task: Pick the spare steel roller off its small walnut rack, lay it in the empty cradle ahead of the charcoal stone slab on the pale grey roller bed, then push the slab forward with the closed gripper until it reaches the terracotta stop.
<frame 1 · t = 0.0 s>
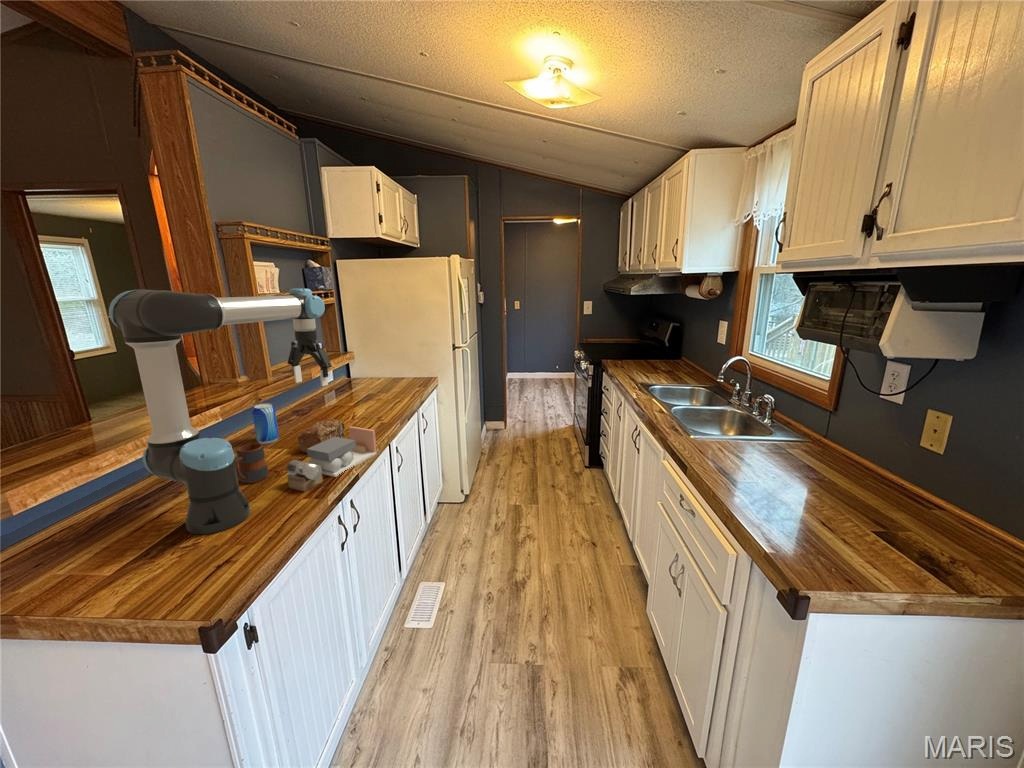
hand: (311, 383, 160), 28 cm above the table, fingers open, 13 cm apart
bread: (323, 445, 172), on the table
beer can: (268, 441, 176), on the table
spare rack: (306, 484, 138), on the table
roller bed: (344, 461, 156), on the table
mug: (251, 481, 141), on the table
slab: (331, 448, 149), point 8 cm above the table, slide at 0.0 cm
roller: (304, 469, 137), point 5 cm above the table, touching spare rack
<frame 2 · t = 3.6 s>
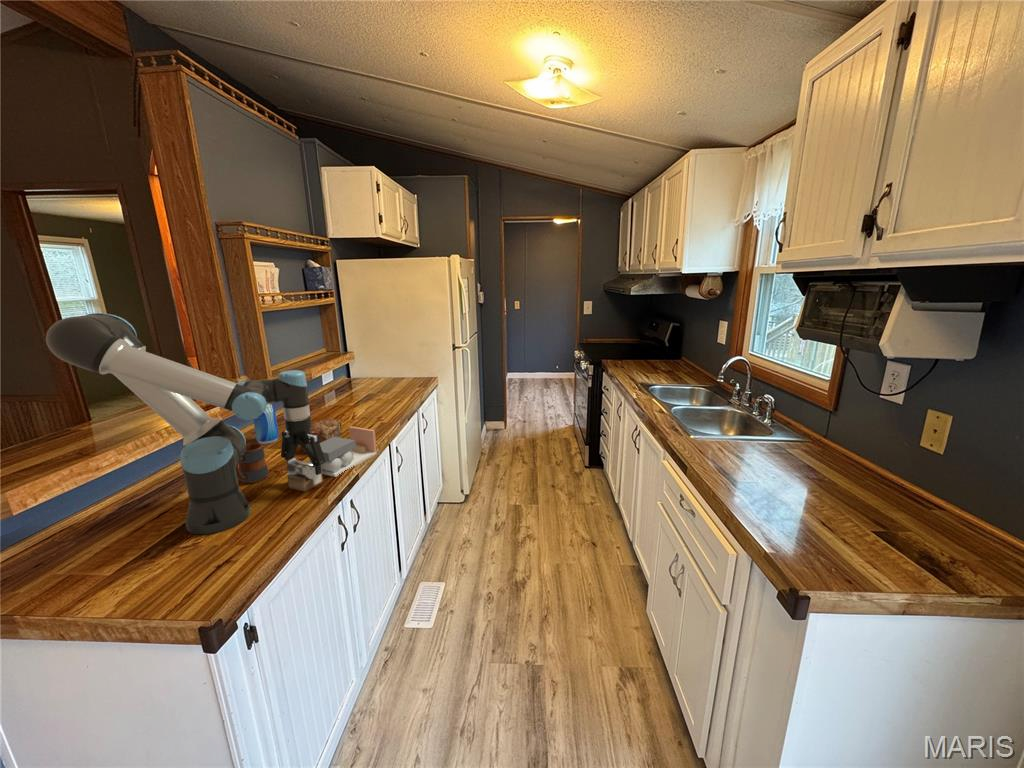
hand: (305, 479, 138), 2 cm above the table, fingers closed on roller, 10 cm apart
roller: (304, 469, 137), point 6 cm above the table, touching gripper, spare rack
when the fingers open (2 cm above the table, at t = 8.9 s): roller drops 2 cm, resting on roller bed.
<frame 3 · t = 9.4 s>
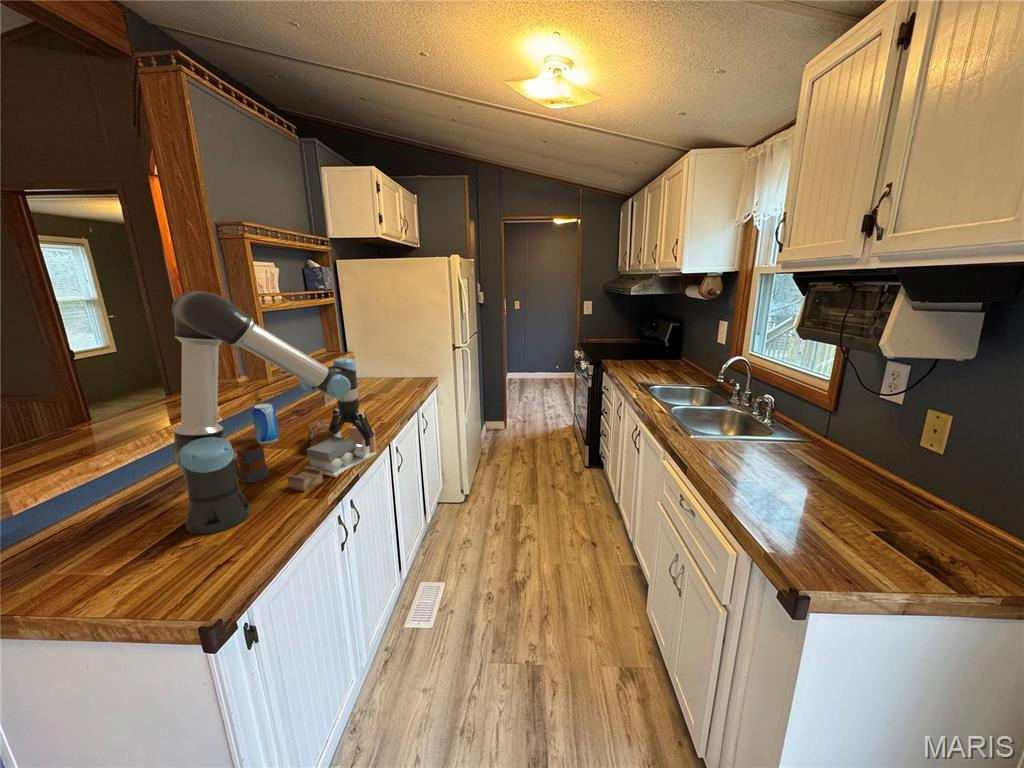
hand: (352, 451, 159), 3 cm above the table, fingers open, 13 cm apart
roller: (352, 449, 159), point 3 cm above the table, touching roller bed
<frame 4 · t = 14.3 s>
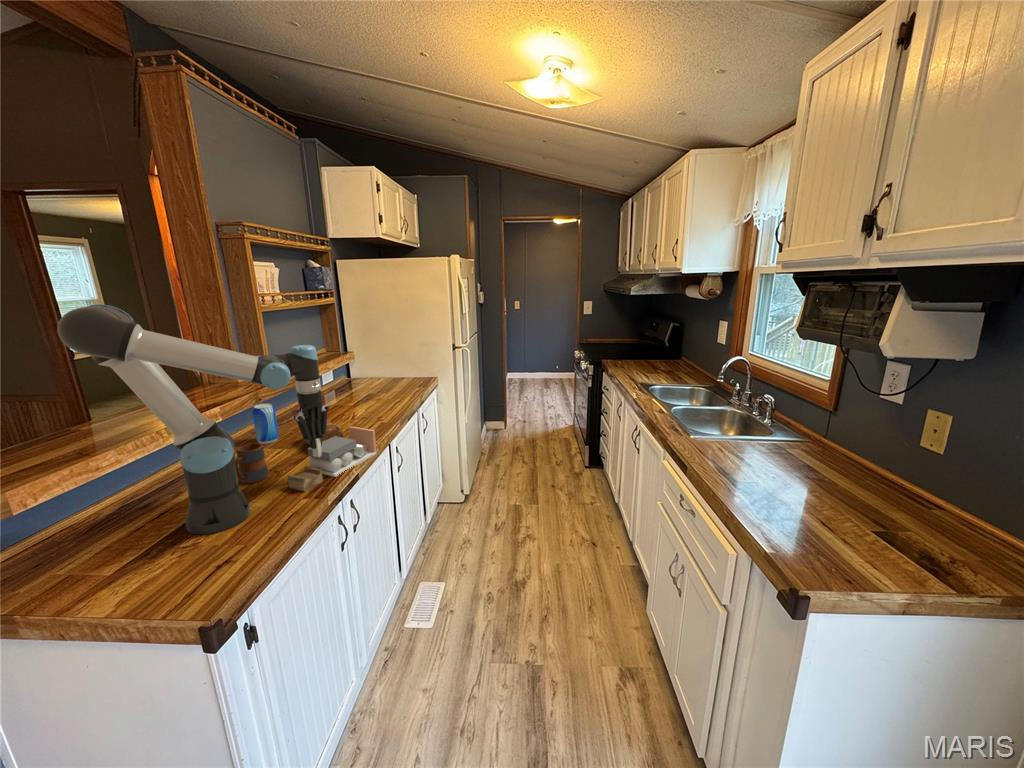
hand: (317, 455, 143), 8 cm above the table, fingers closed
slab: (332, 447, 149), point 8 cm above the table, slide at 0.4 cm, touching gripper
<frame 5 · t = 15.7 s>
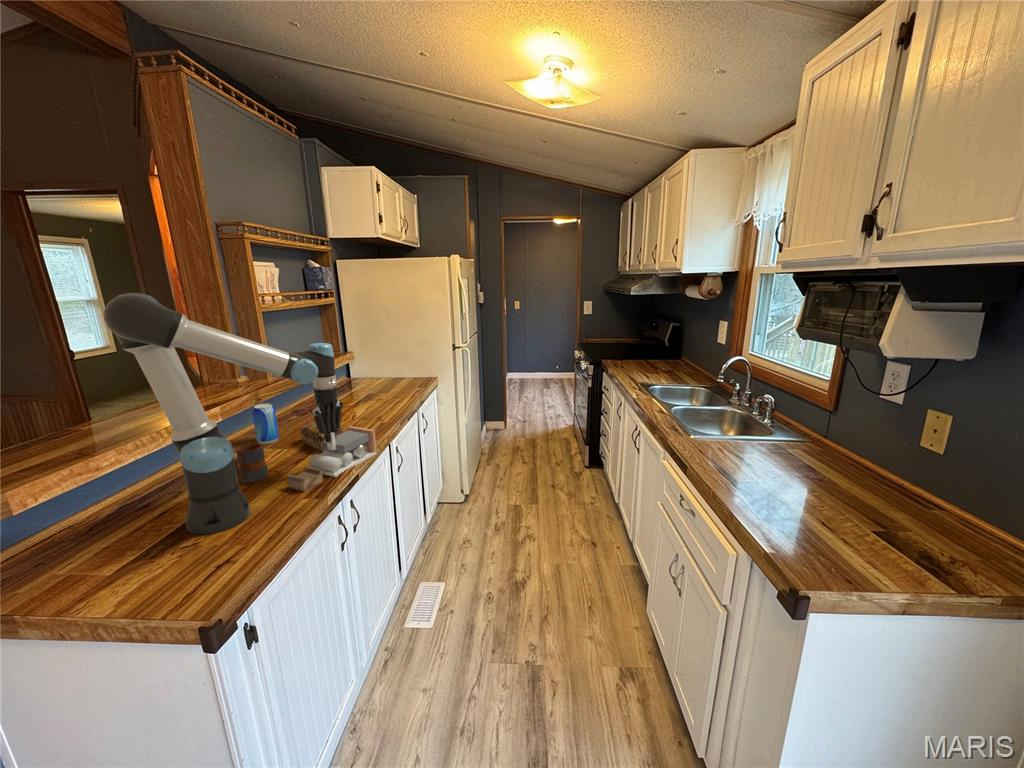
hand: (332, 449, 149), 7 cm above the table, fingers closed
slab: (346, 441, 155), point 8 cm above the table, slide at 7.2 cm, touching gripper
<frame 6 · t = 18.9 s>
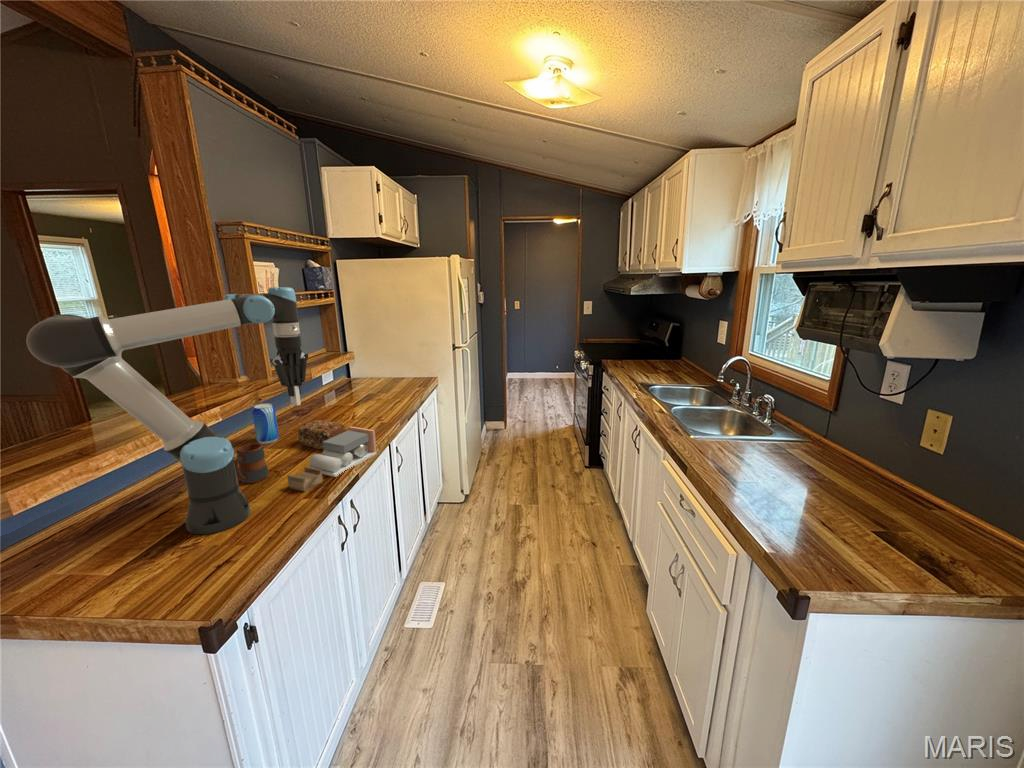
hand: (296, 404, 138), 26 cm above the table, fingers closed
slab: (346, 441, 155), point 8 cm above the table, slide at 7.2 cm
at the end: slab slide at 7.2 cm; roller 0.4 cm from the target spot, point 3.5 cm above the table; the gripper is holding nothing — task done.
